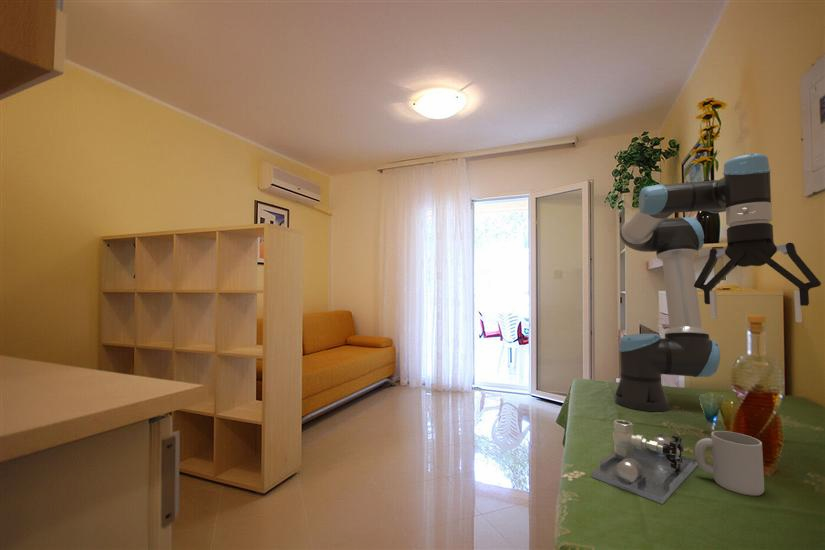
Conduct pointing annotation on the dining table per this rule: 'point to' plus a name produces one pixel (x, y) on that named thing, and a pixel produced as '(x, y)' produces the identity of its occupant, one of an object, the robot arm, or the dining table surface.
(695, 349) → the robot arm
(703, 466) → the cup
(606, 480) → the tray
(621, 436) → the valve
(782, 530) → the dining table surface
